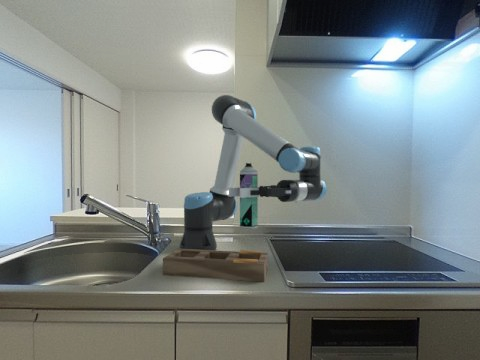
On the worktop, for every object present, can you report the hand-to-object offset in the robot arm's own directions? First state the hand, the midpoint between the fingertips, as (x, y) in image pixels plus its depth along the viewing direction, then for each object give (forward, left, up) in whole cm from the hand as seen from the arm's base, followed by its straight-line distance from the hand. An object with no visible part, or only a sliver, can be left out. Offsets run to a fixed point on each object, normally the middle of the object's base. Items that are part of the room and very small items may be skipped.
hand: (234, 192), depth 82 cm
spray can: (-4, +4, -11) cm, 12 cm away
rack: (-4, -6, -25) cm, 26 cm away
